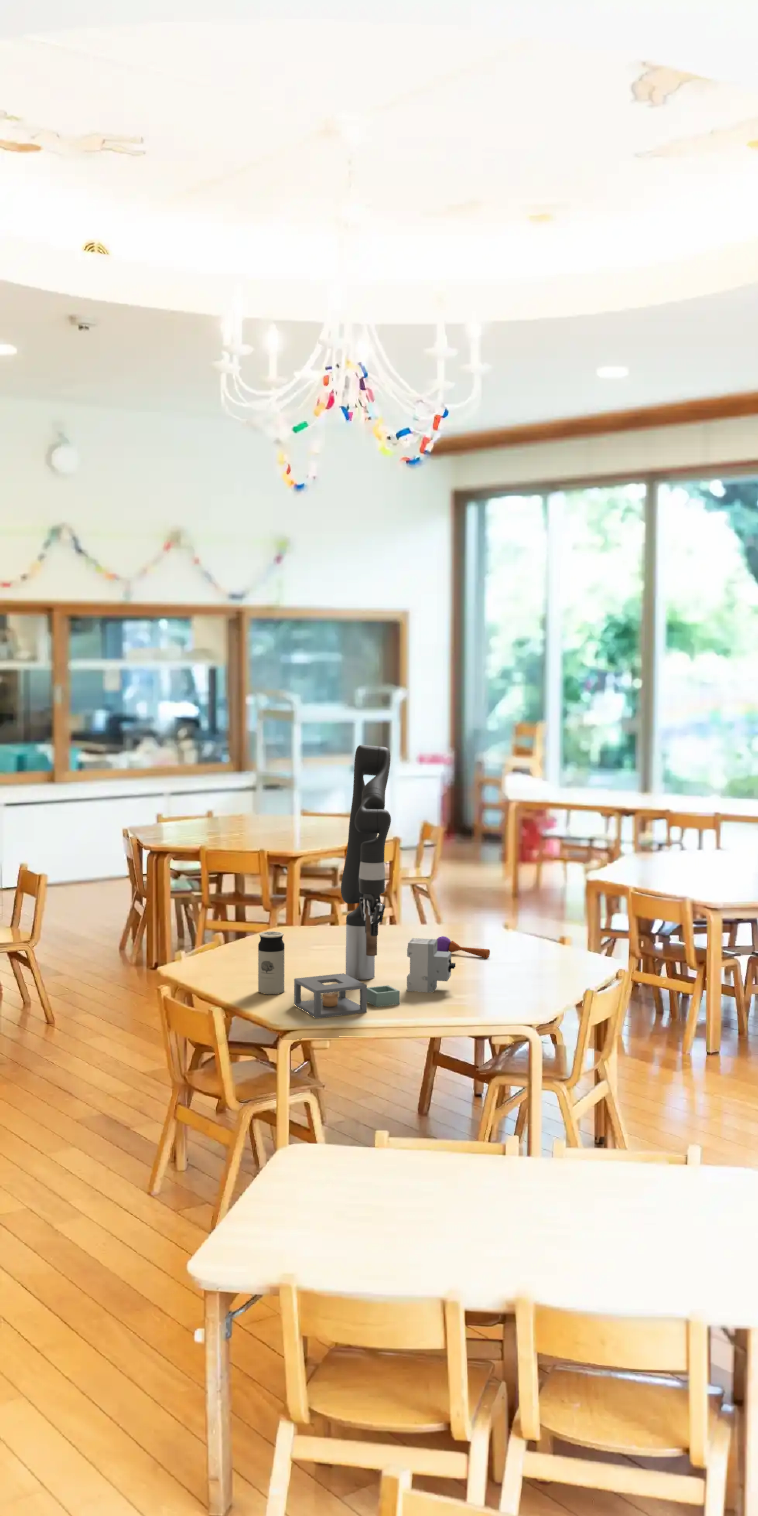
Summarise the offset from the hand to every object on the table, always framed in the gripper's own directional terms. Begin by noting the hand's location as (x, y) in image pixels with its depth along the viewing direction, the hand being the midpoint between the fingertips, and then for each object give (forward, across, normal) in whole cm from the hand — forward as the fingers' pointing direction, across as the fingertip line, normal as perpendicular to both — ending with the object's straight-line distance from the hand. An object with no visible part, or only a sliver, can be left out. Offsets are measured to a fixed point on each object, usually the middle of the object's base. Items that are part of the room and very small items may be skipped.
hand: (371, 934), depth 401 cm
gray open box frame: (+21, -1, +13) cm, 25 cm away
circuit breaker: (+21, +8, -24) cm, 33 cm away
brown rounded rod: (+6, 0, 0) cm, 6 cm away
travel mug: (+21, +25, +22) cm, 39 cm away
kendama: (+22, +48, -56) cm, 77 cm away
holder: (+21, -1, -4) cm, 21 cm away
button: (+20, -1, +13) cm, 24 cm away
